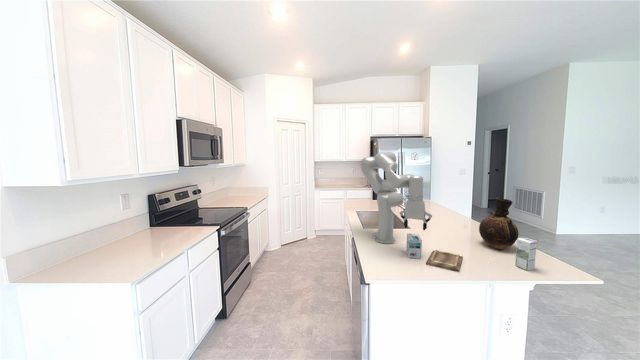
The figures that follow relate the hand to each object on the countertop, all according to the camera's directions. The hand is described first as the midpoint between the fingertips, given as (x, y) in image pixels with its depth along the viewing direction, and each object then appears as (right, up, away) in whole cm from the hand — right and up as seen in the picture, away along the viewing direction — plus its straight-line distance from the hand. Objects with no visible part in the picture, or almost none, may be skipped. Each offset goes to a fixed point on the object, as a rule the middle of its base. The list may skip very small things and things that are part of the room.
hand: (415, 228), depth 137 cm
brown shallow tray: (+13, -16, -7) cm, 22 cm away
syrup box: (+49, -17, -14) cm, 54 cm away
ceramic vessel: (+54, -14, +12) cm, 57 cm away
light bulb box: (0, -16, +2) cm, 16 cm away
